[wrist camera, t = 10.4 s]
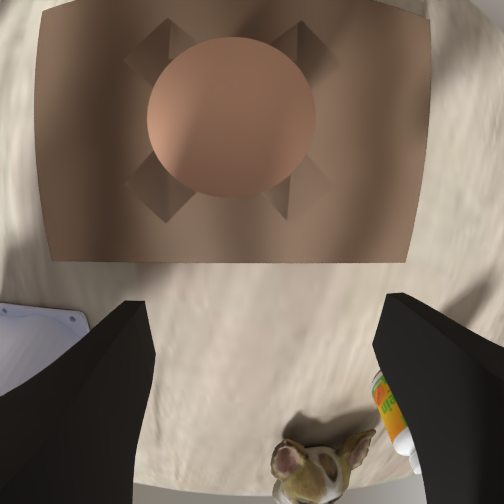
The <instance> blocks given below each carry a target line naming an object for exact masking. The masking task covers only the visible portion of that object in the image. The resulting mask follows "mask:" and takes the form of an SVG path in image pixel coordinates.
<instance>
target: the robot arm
mask: <svg viewBox="0 0 504 504" xmlns="http://www.w3.org/2000/svg"><path fill="white" fill-rule="evenodd" d="M73 317H74V318H75V319H74V318H73ZM372 346H373V349H374V352H375V355H376V358H377V361H378V364H379V367H380V369H381V372H382V374H383V376H384V378H385V380H386V382H387V384H388V386H389V388H390V390H391V392H392V394H393V396H394V398H395V401H396V403H397V405H398V407H399V409H400V411H401V413H402V415H403V417H404V419H405V421H406V423H407V426H408V428H409V431H410V433H411V436H412V439H413V443H414V446H415V449H416V452H417V456H418V460H419V464H420V468H421V472H422V476H423V481H424V486H425V493H426V500H427V504H504V347H502V346H499V345H497V344H495V343H493V342H491V341H489V340H487V339H485V338H483V337H482V336H480V335H478V334H476V333H474V332H472V331H470V330H469V329H467V328H465V327H463V326H462V325H460V324H458V323H457V322H455V321H453V320H452V319H450V318H448V317H447V316H445V315H443V314H441V313H440V312H438V311H436V310H435V309H433V308H431V307H430V306H428V305H426V304H424V303H423V302H421V301H419V300H417V299H415V298H413V297H411V296H409V295H407V294H405V293H391V294H387V295H386V298H385V302H384V306H383V309H382V313H381V317H380V320H379V324H378V327H377V330H376V334H375V337H374V340H373V343H372ZM155 356H156V353H155V348H154V344H153V340H152V335H151V330H150V325H149V321H148V316H147V310H146V305H145V301H124V302H123V303H121V304H120V305H119V306H118V307H116V308H115V309H114V310H113V311H112V312H111V313H110V314H109V315H107V316H106V317H105V318H104V319H103V320H102V321H101V322H100V323H99V324H97V325H96V326H95V327H94V328H93V329H92V330H91V331H90V329H89V326H88V322H87V319H86V316H85V315H84V314H83V313H82V312H80V311H70V310H59V309H49V308H39V307H30V306H22V305H13V304H6V303H0V504H132V496H133V477H134V464H135V455H136V449H137V444H138V439H139V435H140V431H141V426H142V422H143V418H144V414H145V410H146V406H147V402H148V398H149V394H150V390H151V386H152V380H153V373H154V365H155Z"/></svg>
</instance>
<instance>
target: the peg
mask: <svg viewBox="0 0 504 504" xmlns="http://www.w3.org/2000/svg"><path fill="white" fill-rule="evenodd" d="M315 123H316V109H315V103H314V98H313V94H312V91H311V88H310V86H309V84H308V82H307V80H306V78H305V76H304V75H303V73H302V72H301V70H300V69H299V68H298V67H297V65H296V64H295V63H294V62H293V61H292V60H291V59H290V58H289V57H287V56H286V55H285V54H284V53H282V52H281V51H279V50H278V49H276V48H274V47H272V46H270V45H268V44H266V43H263V42H260V41H257V40H253V39H249V38H242V37H222V38H217V39H211V40H208V41H205V42H202V43H199V44H197V45H195V46H193V47H191V48H189V49H187V50H186V51H184V52H183V53H181V54H180V55H179V56H177V57H176V58H175V59H174V60H173V61H172V62H171V63H170V64H169V65H168V66H167V67H166V68H165V69H164V71H163V72H162V74H161V75H160V76H159V78H158V80H157V82H156V84H155V86H154V88H153V90H152V93H151V96H150V99H149V104H148V111H147V127H148V133H149V138H150V141H151V144H152V147H153V150H154V152H155V153H156V155H157V157H158V159H159V161H160V162H161V163H162V165H163V166H164V168H165V169H166V170H167V171H168V172H169V173H170V174H171V175H172V176H173V177H174V178H176V179H177V180H178V181H179V182H181V183H182V184H184V185H185V186H187V187H189V188H191V189H193V190H195V191H197V192H200V193H203V194H206V195H210V196H215V197H222V198H239V197H246V196H251V195H254V194H258V193H261V192H263V191H265V190H268V189H270V188H272V187H274V186H275V185H277V184H279V183H280V182H282V181H283V180H284V179H285V178H287V177H288V176H289V175H290V174H291V173H292V172H293V171H294V170H295V169H296V168H297V167H298V165H299V164H300V163H301V161H302V160H303V158H304V157H305V155H306V153H307V151H308V149H309V147H310V144H311V142H312V138H313V135H314V131H315Z"/></svg>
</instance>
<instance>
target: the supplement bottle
mask: <svg viewBox="0 0 504 504" xmlns="http://www.w3.org/2000/svg"><path fill="white" fill-rule="evenodd" d="M371 393H372V396H373V398H374V401H375V403H376V405H377V408H378V410H379V412H380V414H381V417H382V419H383V422H384V424H385V426H386V429H387V431H388V434H389V436H390V439H391V441H392V444H393V446H394V448H395V450H396V452H397V453H399V454H401V455H405V456H408V455H410V458H409V461H410V464H411V466H412V469H413V471H414V473H415V474H421V473H422V472H421V468H420V464H419V460H418V456H417V452H416V449H415V446H414V443H413V439H412V436H411V433H410V431H409V428H408V426H407V423H406V421H405V419H404V417H403V415H402V413H401V411H400V409H399V407H398V405H397V403H396V401H395V398H394V396H393V394H392V392H391V390H390V388H389V386H388V384H387V382H386V380H385V378H384V376H383V374H382V372H381V371H380V372H379V374H378V375H377V376H376V377H375V379H374V380H373V382H372V384H371Z"/></svg>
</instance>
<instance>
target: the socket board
mask: <svg viewBox="0 0 504 504" xmlns="http://www.w3.org/2000/svg"><path fill="white" fill-rule="evenodd" d="M222 37H242V38H249V39H253V40H257V41H260V42H263V43H266V44H268V45H270V46H272V47H274V48H276V49H278V50H279V51H281V52H282V53H284V54H285V55H286V56H287V57H289V58H290V59H291V60H292V61H293V62H294V63H295V64H296V65H297V67H298V68H299V69H300V70H301V72H302V73H303V75H304V76H305V78H306V80H307V82H308V84H309V86H310V88H311V91H312V94H313V98H314V103H315V109H316V123H315V131H314V135H313V138H312V142H311V144H310V147H309V149H308V151H307V153H306V155H305V157H304V158H303V160H302V161H301V163H300V164H299V165H298V167H297V168H296V169H295V170H294V171H293V172H292V173H291V174H290V175H289V176H288V177H287V178H285V179H284V180H283V181H282V182H280V183H279V184H277V185H275V186H274V187H272V188H270V189H268V190H265V191H263V192H261V193H258V194H254V195H251V196H246V197H239V198H222V197H215V196H210V195H206V194H203V193H200V192H197V191H195V190H193V189H191V188H189V187H187V186H185V185H184V184H182V183H181V182H179V181H178V180H177V179H176V178H174V177H173V176H172V175H171V174H170V173H169V172H168V171H167V170H166V169H165V168H164V166H163V165H162V163H161V162H160V161H159V159H158V157H157V155H156V153H155V152H154V150H153V147H152V144H151V141H150V138H149V133H148V127H147V111H148V104H149V99H150V96H151V93H152V90H153V88H154V86H155V84H156V82H157V80H158V78H159V76H160V75H161V74H162V72H163V71H164V69H165V68H166V67H167V66H168V65H169V64H170V63H171V62H172V61H173V60H174V59H175V58H176V57H177V56H179V55H180V54H181V53H183V52H184V51H186V50H187V49H189V48H191V47H193V46H195V45H197V44H199V43H202V42H205V41H208V40H211V39H217V38H222ZM430 95H431V33H430V20H429V19H426V18H424V17H421V16H418V15H416V14H413V13H410V12H408V11H405V10H402V9H399V8H396V7H393V6H390V5H387V4H384V3H380V2H377V1H373V0H75V1H72V2H68V3H65V4H62V5H59V6H56V7H53V8H50V9H47V10H44V11H43V12H42V17H41V24H40V30H39V38H38V47H37V57H36V69H35V89H34V130H35V150H36V164H37V174H38V183H39V191H40V199H41V206H42V212H43V218H44V224H45V230H46V235H47V240H48V245H49V249H50V254H51V258H52V261H92V262H163V263H405V262H406V258H407V254H408V249H409V245H410V241H411V236H412V232H413V227H414V222H415V217H416V212H417V207H418V201H419V196H420V190H421V184H422V177H423V170H424V163H425V155H426V146H427V137H428V126H429V113H430Z"/></svg>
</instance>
